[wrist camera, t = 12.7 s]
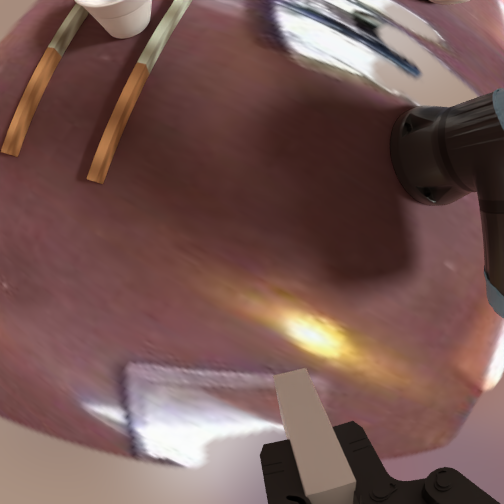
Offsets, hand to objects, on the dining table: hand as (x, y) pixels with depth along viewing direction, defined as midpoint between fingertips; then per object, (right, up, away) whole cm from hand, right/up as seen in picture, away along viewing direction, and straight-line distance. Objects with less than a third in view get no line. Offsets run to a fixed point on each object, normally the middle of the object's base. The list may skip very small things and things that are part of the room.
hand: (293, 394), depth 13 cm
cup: (-19, +38, +19) cm, 46 cm away
